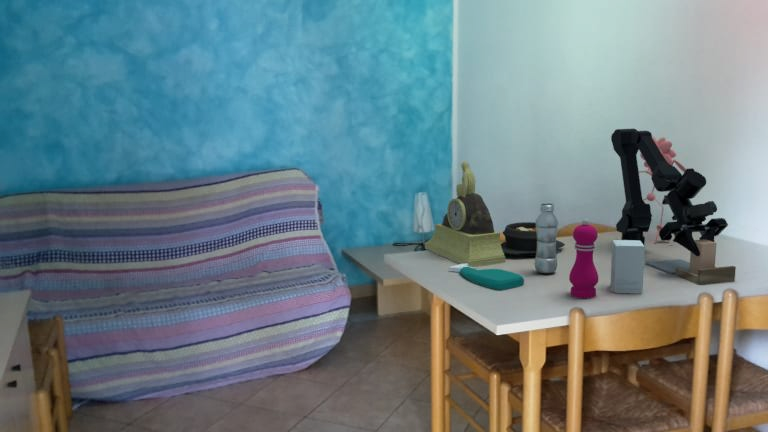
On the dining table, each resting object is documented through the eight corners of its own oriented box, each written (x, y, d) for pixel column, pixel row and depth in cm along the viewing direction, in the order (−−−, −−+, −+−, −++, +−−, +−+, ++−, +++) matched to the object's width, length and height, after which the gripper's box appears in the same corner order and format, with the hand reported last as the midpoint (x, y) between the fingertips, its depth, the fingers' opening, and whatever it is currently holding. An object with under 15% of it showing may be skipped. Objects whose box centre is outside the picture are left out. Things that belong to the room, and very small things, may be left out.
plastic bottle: (558, 270, 205) (560, 202, 201) (555, 276, 198) (557, 206, 195) (535, 269, 207) (537, 201, 203) (532, 275, 200) (534, 205, 197)
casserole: (518, 263, 214) (519, 236, 212) (480, 251, 230) (480, 226, 228) (578, 252, 226) (579, 226, 225) (537, 241, 242) (538, 217, 240)
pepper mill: (564, 291, 184) (566, 216, 181) (591, 290, 185) (594, 215, 181) (574, 299, 177) (576, 221, 174) (602, 298, 178) (605, 220, 174)
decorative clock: (424, 249, 235) (424, 159, 229) (458, 244, 240) (458, 157, 235) (469, 268, 210) (469, 168, 204) (505, 262, 215) (506, 165, 209)
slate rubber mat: (645, 264, 210) (645, 262, 210) (680, 260, 213) (680, 259, 213) (671, 274, 198) (671, 272, 198) (707, 270, 201) (707, 268, 201)
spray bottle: (497, 293, 186) (440, 274, 206) (528, 285, 191) (469, 268, 212) (497, 282, 185) (440, 264, 205) (528, 275, 191) (469, 259, 211)
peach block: (689, 275, 197) (691, 240, 195) (702, 274, 198) (705, 239, 196) (700, 279, 192) (702, 244, 190) (714, 278, 193) (716, 242, 192)
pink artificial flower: (676, 248, 228) (683, 139, 222) (609, 235, 248) (614, 136, 242) (702, 242, 237) (710, 137, 231) (635, 230, 257) (640, 134, 251)
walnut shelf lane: (675, 275, 197) (676, 261, 196) (709, 271, 200) (710, 258, 199) (699, 284, 188) (700, 270, 187) (734, 281, 190) (735, 266, 190)
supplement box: (643, 294, 181) (645, 246, 178) (612, 293, 182) (614, 245, 180) (638, 286, 188) (641, 239, 185) (609, 285, 189) (611, 239, 187)
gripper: (667, 193, 192) (692, 241, 184) (725, 189, 197) (752, 236, 188) (648, 216, 201) (671, 263, 193) (704, 212, 206) (729, 258, 197)
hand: (706, 254), depth 192 cm, fingers closed on peach block, 4 cm apart
